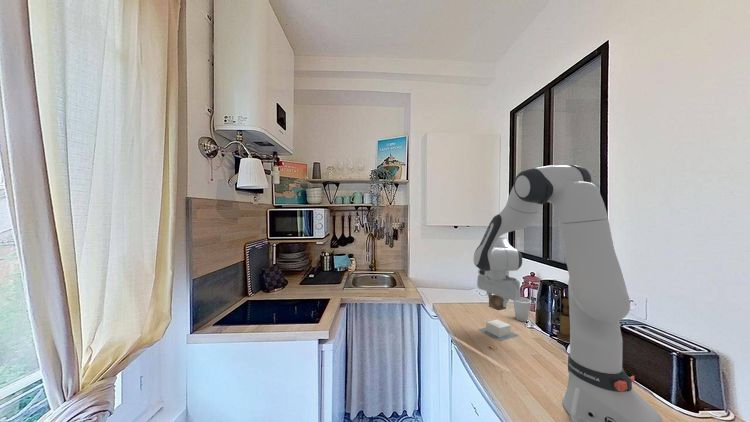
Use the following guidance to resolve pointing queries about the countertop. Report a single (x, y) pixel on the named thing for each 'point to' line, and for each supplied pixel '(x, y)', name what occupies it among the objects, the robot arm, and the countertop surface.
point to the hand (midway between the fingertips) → (497, 304)
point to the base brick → (498, 328)
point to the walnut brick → (496, 302)
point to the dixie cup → (522, 309)
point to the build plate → (497, 336)
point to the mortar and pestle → (564, 322)
